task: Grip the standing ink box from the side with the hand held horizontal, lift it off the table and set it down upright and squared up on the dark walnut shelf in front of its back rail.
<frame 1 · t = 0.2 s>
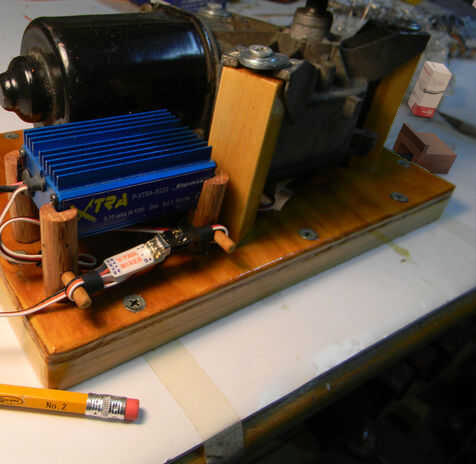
hand: (465, 2, 105), 28 cm above the table, tool pointing down, fingers open, 8 cm apart
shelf: (418, 160, 104), on the table
ink box: (419, 111, 127), on the table
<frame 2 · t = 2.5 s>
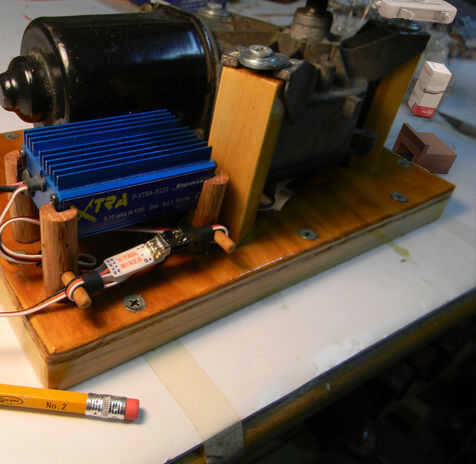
hand: (430, 19, 123), 20 cm above the table, tool horizontal, fingers open, 8 cm apart
nothing on the table moved.
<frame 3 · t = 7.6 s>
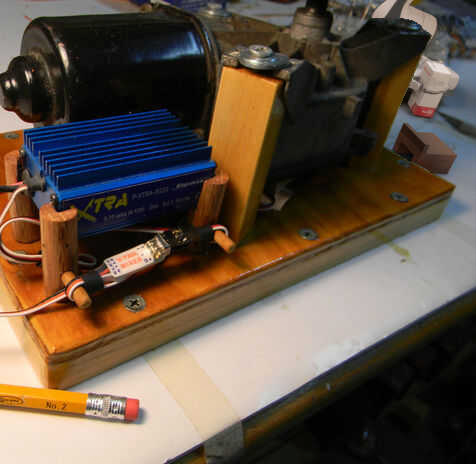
hand: (432, 88, 122), 7 cm above the table, tool horizontal, fingers closed on ink box, 5 cm apart
ink box: (419, 111, 127), on the table, touching gripper
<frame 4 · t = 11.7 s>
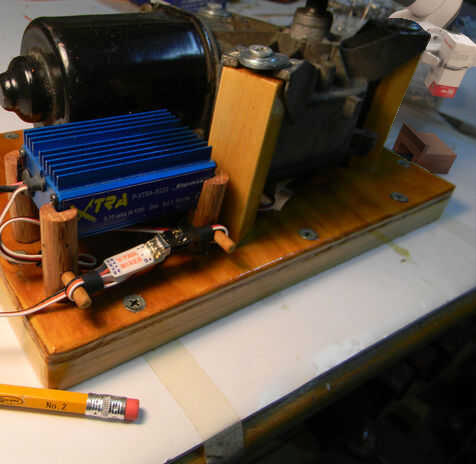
hand: (454, 64, 105), 17 cm above the table, tool horizontal, fingers closed on ink box, 5 cm apart
ink box: (437, 91, 110), point 10 cm above the table, touching gripper
when the fingers open (11 cm above the table, at t = 16.1 s): ink box stays where it is, resting on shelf.
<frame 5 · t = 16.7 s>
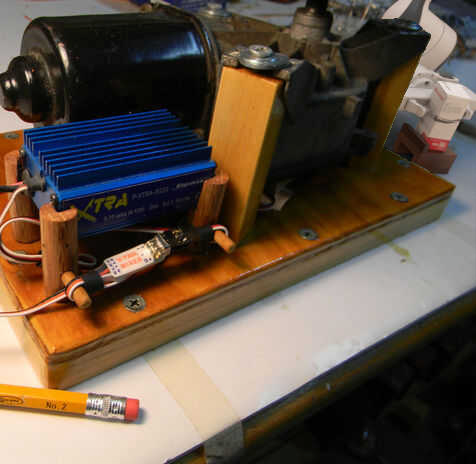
hand: (446, 115, 96), 11 cm above the table, tool horizontal, fingers open, 8 cm apart
ink box: (428, 142, 102), point 4 cm above the table, touching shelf
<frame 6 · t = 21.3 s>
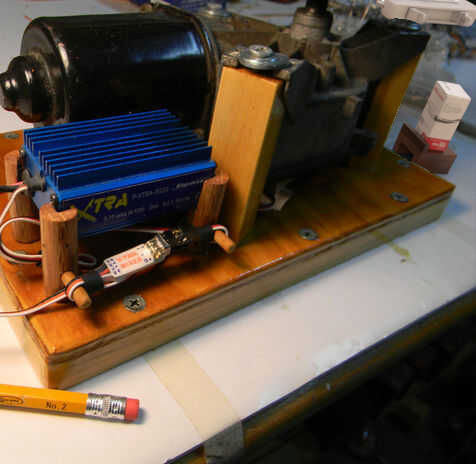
hand: (446, 21, 99), 26 cm above the table, tool horizontal, fingers open, 8 cm apart
nothing on the table moved.
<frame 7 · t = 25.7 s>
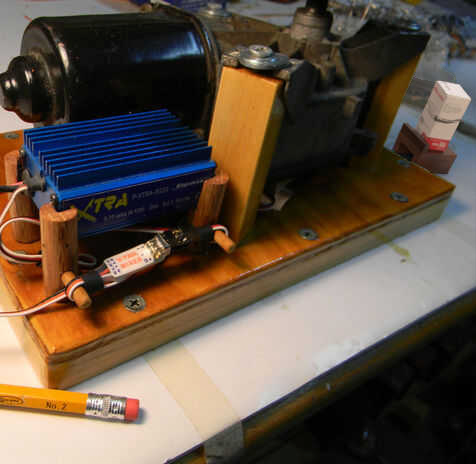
nothing on the table moved.
at the end: ink box 0.6 cm off-centre on the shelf, point 4.3 cm above the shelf's base; ink box tilted 0°; the gripper is holding nothing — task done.
